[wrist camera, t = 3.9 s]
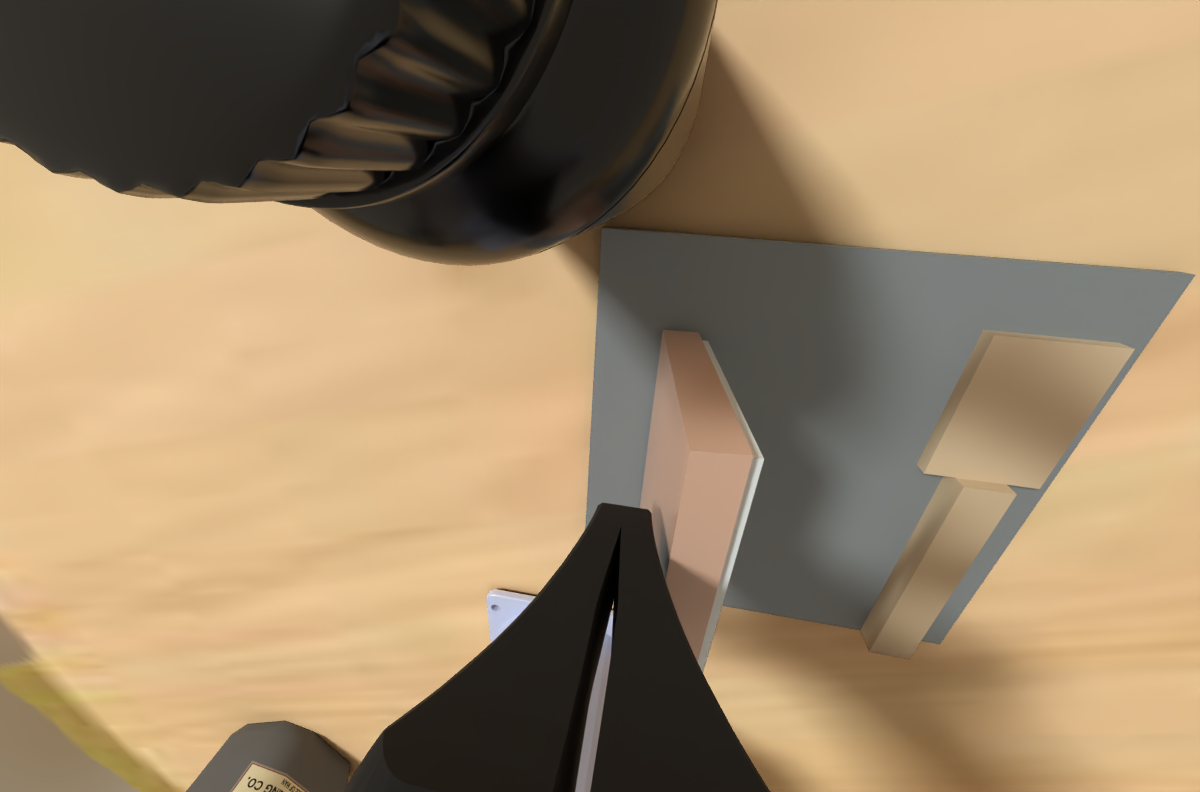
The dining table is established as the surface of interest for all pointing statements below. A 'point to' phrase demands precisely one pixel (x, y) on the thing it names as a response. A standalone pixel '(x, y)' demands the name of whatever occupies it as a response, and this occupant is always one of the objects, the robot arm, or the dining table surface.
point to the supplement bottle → (366, 108)
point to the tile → (697, 481)
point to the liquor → (274, 762)
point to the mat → (836, 389)
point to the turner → (988, 464)
